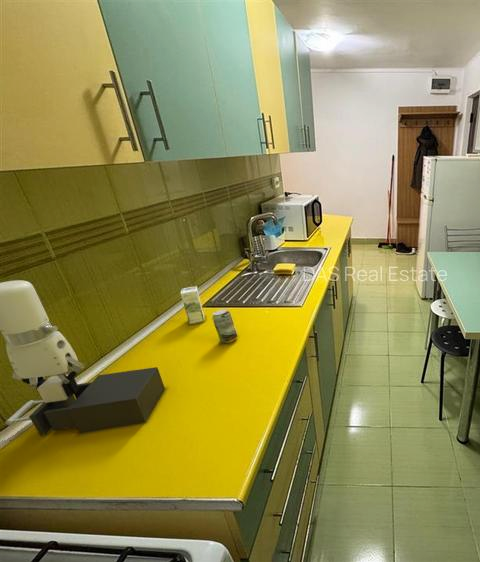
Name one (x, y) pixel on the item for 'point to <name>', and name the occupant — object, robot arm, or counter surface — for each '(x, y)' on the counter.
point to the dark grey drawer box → (117, 400)
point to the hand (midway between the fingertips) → (61, 394)
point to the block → (52, 390)
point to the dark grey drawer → (49, 413)
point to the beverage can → (224, 325)
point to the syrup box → (192, 305)
